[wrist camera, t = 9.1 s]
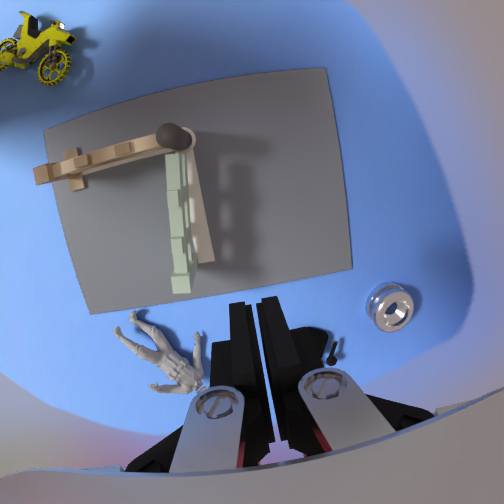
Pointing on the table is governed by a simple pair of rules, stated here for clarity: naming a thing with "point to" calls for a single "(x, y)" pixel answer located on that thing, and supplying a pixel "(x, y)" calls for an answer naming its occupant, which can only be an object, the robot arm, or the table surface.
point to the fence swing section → (180, 224)
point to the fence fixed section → (110, 155)
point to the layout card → (208, 190)
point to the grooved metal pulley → (389, 307)
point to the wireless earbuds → (322, 344)
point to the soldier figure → (167, 359)
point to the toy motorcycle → (38, 48)
